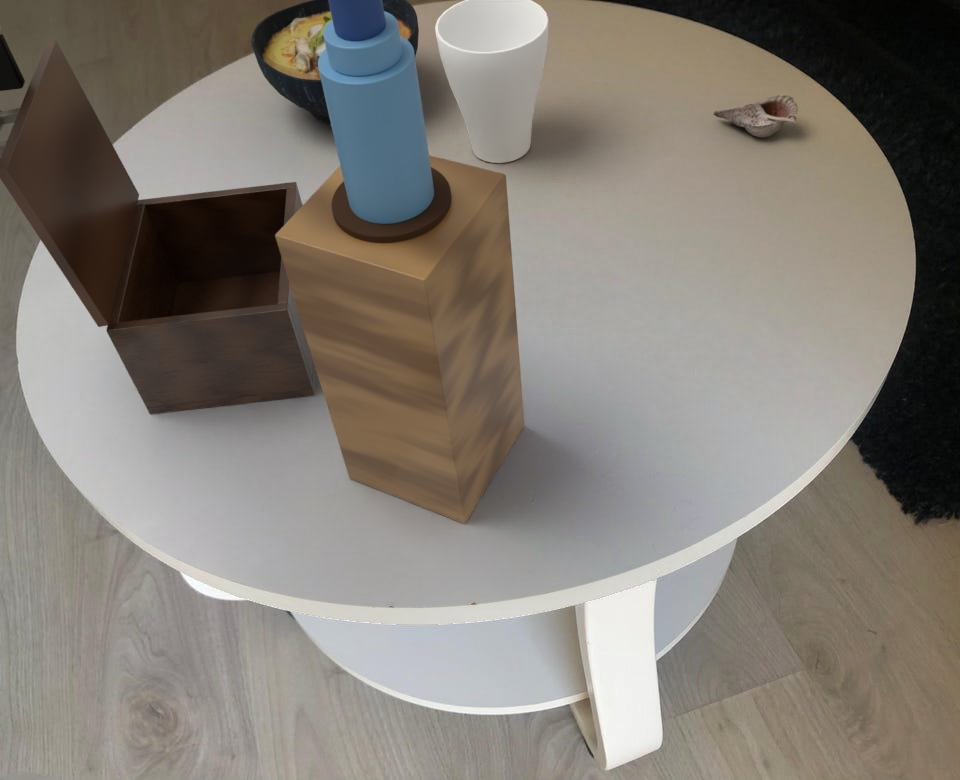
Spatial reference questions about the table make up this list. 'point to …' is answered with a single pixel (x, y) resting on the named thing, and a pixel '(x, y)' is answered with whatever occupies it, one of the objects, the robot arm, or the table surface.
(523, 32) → the cup
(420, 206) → the bottle
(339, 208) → the coaster
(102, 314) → the wooden box lid
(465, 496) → the stand
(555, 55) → the table surface
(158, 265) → the brown wooden box
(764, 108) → the seashell
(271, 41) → the bowl
